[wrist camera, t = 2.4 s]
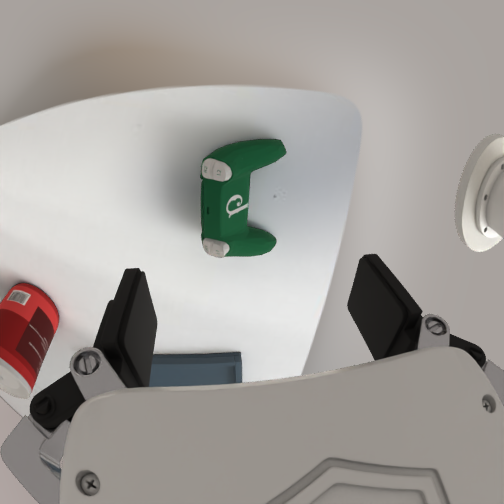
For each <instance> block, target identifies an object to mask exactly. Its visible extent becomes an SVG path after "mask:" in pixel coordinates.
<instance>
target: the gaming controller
mask: <svg viewBox="0 0 504 504" xmlns="http://www.w3.org/2000/svg"><path fill="white" fill-rule="evenodd" d="M285 154H286V149H285V147H284V145H283V143H282V141H281V140H277V139H258V140H249V141H241V142H237V143H233V144H229V145H226V146H224V147H221V148H219V149H217V150H215V151H214V152H212V153H211V154H209V155H208V156H207V157H205V158H204V159H203V161H202V165H201V175H200V178H201V179H202V183H201V225H202V234H201V238H202V244H203V248H204V250H205V251H206V252H207V253H208V254H209V255H211V256H215V257H219V258H223V257H227V256H257V255H262V254H265V253H267V252H270V251H271V250H272V249H273V247H274V246H275V245H276V238H275V237H274V236H273V235H272V234H270V233H269V232H266V231H264V230H261V229H257V228H253V227H249V226H247V218H248V202H249V186H250V174H251V173H252V172H253V171H254V170H257V169H259V168H262V167H264V166H267V165H269V164H272V163H274V162H276V161H277V160H279V159H280V158H281V157H283V156H284V155H285Z"/></svg>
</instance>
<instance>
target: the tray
mask: <svg viewBox="0 0 504 504" xmlns="http://www.w3.org/2000/svg"><path fill="white" fill-rule="evenodd" d="M235 383H242V360H241V353H240V352H236V353H219V354H191V355H153V358H152V366H151V374H150V383H149V387H179V386H204V385H222V384H235Z"/></svg>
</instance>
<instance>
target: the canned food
mask: <svg viewBox="0 0 504 504" xmlns="http://www.w3.org/2000/svg"><path fill="white" fill-rule="evenodd" d="M58 322H59V315H58V311H57V308H56V306H55V305H54V303H53V302H52V300H51V299H50V298H49V297H48V296H47V295H46V294H45V293H44V292H43V291H42V290H40V289H39V288H37V287H35V286H33V285H31V284H27V283H19V284H17V285H15V286H14V287H12V288H11V289H10V290H9V292H8V293H7V295H6V296H5V297H4V299H3V300H2V302H1V303H0V389H1V390H2V391H4V392H6V393H8V394H10V395H12V396H14V397H17V398H21V399H28V398H29V397H30V394H31V393H32V390H33V387H34V385H35V382H36V379H37V376H38V374H39V371H40V368H41V366H42V363H43V360H44V358H45V355H46V353H47V351H48V348H49V346H50V343H51V341H52V339H53V337H54V334H55V332H56V330H57V327H58Z"/></svg>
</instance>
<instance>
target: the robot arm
mask: <svg viewBox="0 0 504 504" xmlns="http://www.w3.org/2000/svg"><path fill="white" fill-rule="evenodd" d="M475 214H476V225H477V228H478V230H479V231H480V233H481V234H482V235H484V236H485V237H487V238H495V237H497V236H499V235H500V236H501V237H502V238H503V239H504V157H502V158H499V159H498V160H497V161H495V162H494V163H493V164H492V166H491V167H490V168H489V170H488V171H487V173H486V175H485V177H484V179H483V181H482V184H481V187H480V190H479V193H478V197H477V202H476V211H475ZM347 306H348V310H349V312H350V314H351V316H352V318H353V320H354V321H355V323H356V325H357V327H358V329H359V331H360V333H361V334H362V336H363V338H364V340H365V342H366V344H367V346H368V348H369V350H370V352H371V354H372V356H373V358H374V360H375V361H372V362H368V363H363V364H359V365H355V366H350V367H346V368H340V369H336V370H330V371H326V372H320V373H314V374H308V375H302V376H295V377H289V378H281V379H274V380H265V381H256V382H247V383H235V384H222V385H204V386H179V387H149V383H150V374H151V366H152V358H153V351H154V344H155V337H156V330H157V317H156V314H155V310H154V307H153V303H152V299H151V296H150V292H149V288H148V284H147V280H146V276H145V273H144V271H142V272H141V271H140V269H139V268H131V269H126V270H125V272H124V274H123V277H122V279H121V282H120V285H119V287H118V290H117V293H116V295H115V298H114V300H110V301H109V303H108V305H107V308H106V310H105V313H104V316H103V319H102V322H101V324H100V327H99V330H98V333H97V336H96V339H95V343H94V346H93V347H86V348H83V349H80V350H79V351H77V352H76V353H75V354H74V355H73V357H72V358H71V361H70V370H71V371H70V372H69V373H67V374H66V375H65V376H63V377H62V378H60V379H59V380H57V381H56V382H54V383H53V384H51V385H50V386H48V387H47V388H45V389H44V390H42V391H41V392H39V393H38V394H37V395H35V396H34V398H33V399H32V401H31V404H30V413H31V414H30V415H29V416H28V417H27V416H26V415H25V416H24V417H23V418H22V420H21V421H20V422H19V423H18V425H17V426H16V427H15V428H14V430H13V431H12V432H11V434H10V435H9V436H8V437H7V439H6V440H5V441H4V443H3V445H2V447H1V457H2V459H3V461H4V463H5V464H6V466H7V467H8V468H9V470H10V471H11V472H12V473H13V475H14V476H15V477H16V478H17V479H18V481H19V482H20V483H21V484H22V485H23V487H24V488H25V489H26V490H27V491H28V492H29V493H30V494H31V495H32V497H33V498H34V499H35V500H36V501H37V502H38V503H39V504H504V370H502V369H501V368H500V367H498V366H497V365H495V364H494V363H493V362H492V361H490V360H488V361H486V356H485V354H484V352H483V350H482V349H481V348H480V347H479V346H477V345H475V344H473V343H470V342H468V341H466V340H463V339H461V338H459V337H456V336H454V335H451V334H450V329H449V326H448V324H447V322H446V321H445V320H444V319H442V318H441V317H439V316H437V315H433V314H428V315H425V316H424V317H422V316H421V313H422V310H421V309H420V307H419V306H418V305H417V303H416V302H415V301H414V299H413V298H412V297H411V296H410V294H409V293H408V292H407V290H406V289H405V288H404V287H403V285H402V284H401V283H400V282H399V280H398V279H397V278H396V277H395V276H394V274H393V273H392V272H391V271H390V269H389V268H388V267H387V266H386V265H385V264H384V262H383V261H382V260H381V259H380V258H379V256H378V255H377V254H368V255H364V256H363V257H362V258H361V259H360V260H359V264H358V268H357V271H356V275H355V279H354V282H353V286H352V290H351V293H350V296H349V300H348V305H347ZM62 457H63V461H62V469H61V468H60V461H61V458H62Z"/></svg>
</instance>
